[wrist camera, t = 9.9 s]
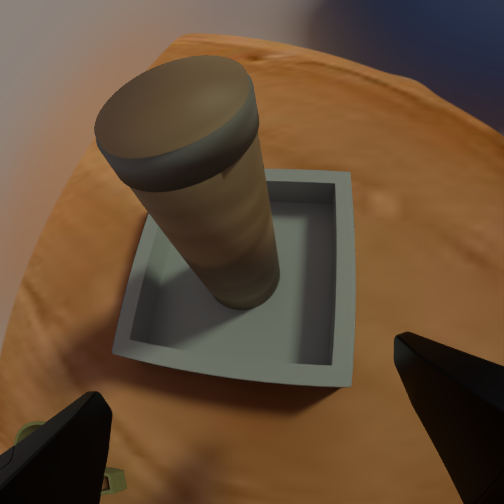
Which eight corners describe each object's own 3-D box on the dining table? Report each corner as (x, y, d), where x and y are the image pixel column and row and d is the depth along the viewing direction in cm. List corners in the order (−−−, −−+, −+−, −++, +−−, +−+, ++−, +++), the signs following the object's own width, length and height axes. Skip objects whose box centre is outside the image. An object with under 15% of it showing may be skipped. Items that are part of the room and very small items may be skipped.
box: (341, 387, 15) (351, 386, 12) (136, 360, 17) (111, 353, 15) (345, 199, 20) (350, 172, 18) (177, 196, 23) (163, 171, 20)
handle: (263, 323, 17) (191, 167, 5) (193, 294, 18) (64, 145, 7) (293, 253, 18) (277, 57, 7) (226, 231, 20) (154, 56, 8)
